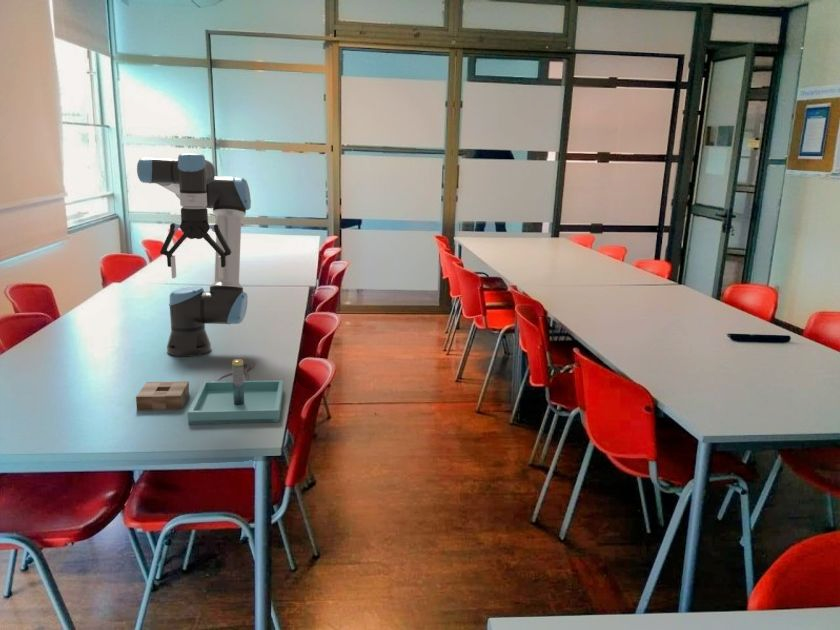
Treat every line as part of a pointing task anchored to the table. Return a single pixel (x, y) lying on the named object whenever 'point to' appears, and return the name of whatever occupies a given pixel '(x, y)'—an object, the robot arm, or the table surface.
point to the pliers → (243, 370)
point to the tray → (219, 405)
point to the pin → (238, 381)
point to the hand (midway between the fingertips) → (197, 277)
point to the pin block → (162, 395)
